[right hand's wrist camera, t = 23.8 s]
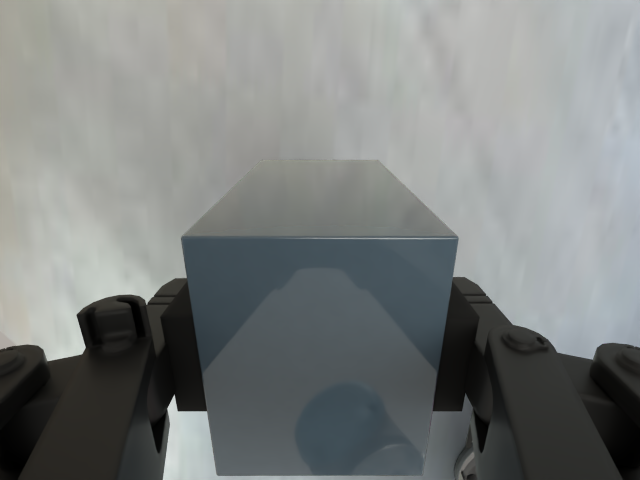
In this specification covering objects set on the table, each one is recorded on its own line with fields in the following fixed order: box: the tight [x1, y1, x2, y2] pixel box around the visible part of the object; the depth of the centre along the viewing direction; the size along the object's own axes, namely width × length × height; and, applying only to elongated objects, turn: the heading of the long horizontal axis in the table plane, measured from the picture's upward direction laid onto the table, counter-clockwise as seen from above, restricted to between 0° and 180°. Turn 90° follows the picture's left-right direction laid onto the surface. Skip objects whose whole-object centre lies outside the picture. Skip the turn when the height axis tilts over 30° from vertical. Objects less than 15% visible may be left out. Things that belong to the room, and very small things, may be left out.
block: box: [181, 160, 459, 476], centre depth 13 cm, size 7×6×10 cm
